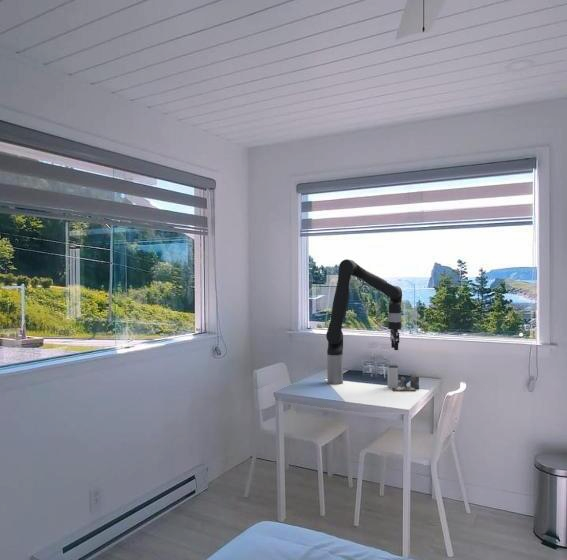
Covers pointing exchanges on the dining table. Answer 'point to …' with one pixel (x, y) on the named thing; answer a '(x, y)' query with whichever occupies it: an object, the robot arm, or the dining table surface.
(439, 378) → the dining table surface
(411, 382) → the test stand
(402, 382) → the gauge plunger
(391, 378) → the force gauge
